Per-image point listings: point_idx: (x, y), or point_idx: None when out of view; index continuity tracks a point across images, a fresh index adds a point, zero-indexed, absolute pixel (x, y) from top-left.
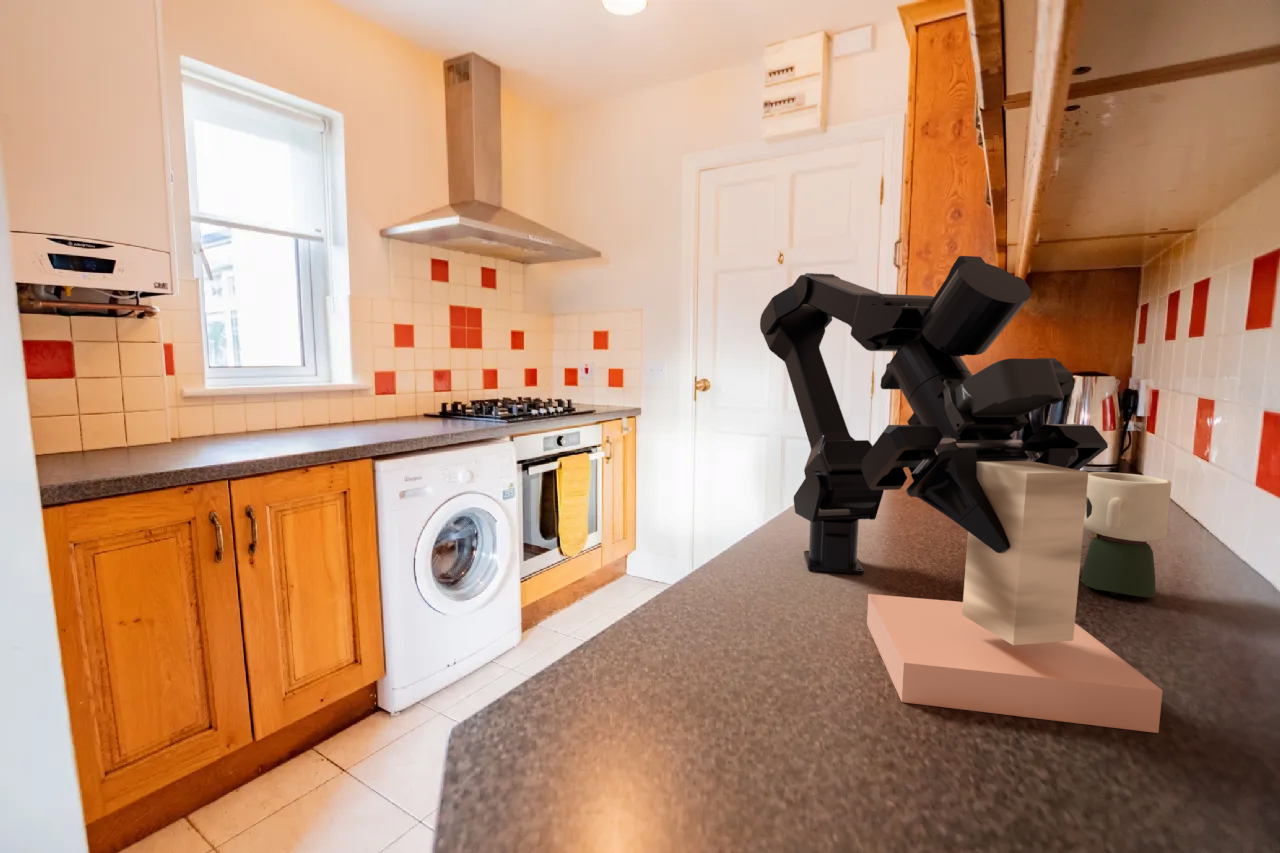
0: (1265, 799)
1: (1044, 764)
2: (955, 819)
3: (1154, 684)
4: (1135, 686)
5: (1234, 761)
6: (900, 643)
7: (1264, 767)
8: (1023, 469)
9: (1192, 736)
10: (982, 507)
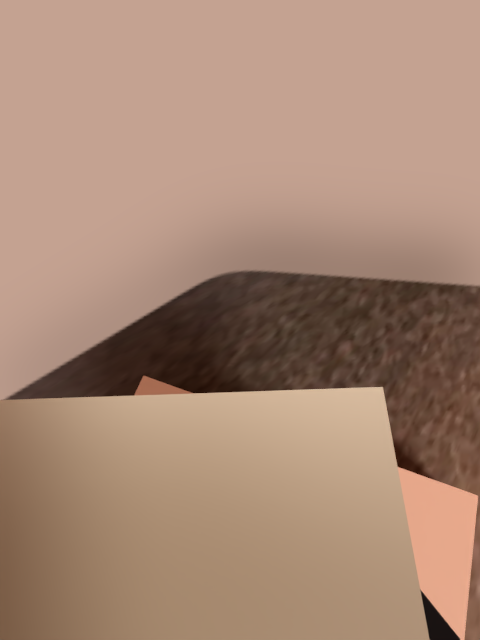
0: (170, 302)
1: (332, 358)
2: (467, 305)
3: (137, 389)
4: (168, 387)
5: (136, 343)
6: (456, 572)
7: (119, 333)
8: (272, 573)
9: (129, 380)
10: (435, 616)
